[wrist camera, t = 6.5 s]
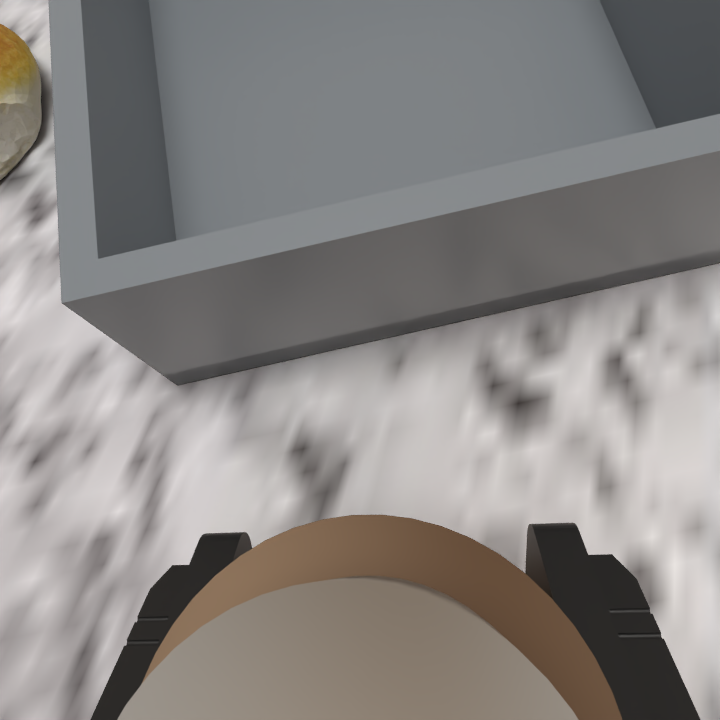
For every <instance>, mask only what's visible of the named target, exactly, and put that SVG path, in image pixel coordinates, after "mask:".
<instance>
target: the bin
mask: <svg viewBox="0 0 720 720" xmlns="http://www.w3.org/2000/svg"><path fill="white" fill-rule="evenodd" d="M49 22H50V45H51V68H52V91H53V115H54V138H55V161H56V184H57V207H58V231H59V254H60V277H61V300H62V304H64V305H65V306H67V307H68V308H69V309H71V310H72V311H74V312H75V313H76V314H78V315H79V316H81V317H82V318H83V319H85V320H86V321H88V322H89V323H90V324H92V325H93V326H95V327H96V328H97V329H99V330H100V331H102V332H103V333H104V334H106V335H107V336H109V337H110V338H112V339H113V340H114V341H116V342H117V343H119V344H120V345H121V346H123V347H124V348H126V349H127V350H128V351H130V352H131V353H133V354H134V355H135V356H137V357H138V358H140V359H141V360H142V361H144V362H145V363H147V364H148V365H149V366H151V367H152V368H154V369H155V370H156V371H158V372H159V373H161V374H162V375H164V376H165V377H166V378H168V379H169V380H171V381H172V382H173V383H175V384H176V385H180V384H185V383H189V382H193V381H198V380H202V379H207V378H211V377H216V376H220V375H224V374H229V373H233V372H238V371H242V370H247V369H251V368H255V367H260V366H264V365H269V364H273V363H278V362H282V361H286V360H291V359H295V358H300V357H304V356H309V355H313V354H318V353H322V352H326V351H331V350H335V349H340V348H344V347H349V346H353V345H357V344H362V343H366V342H371V341H375V340H380V339H384V338H388V337H393V336H397V335H402V334H406V333H411V332H415V331H419V330H424V329H428V328H433V327H437V326H442V325H446V324H450V323H455V322H459V321H464V320H468V319H473V318H477V317H481V316H486V315H490V314H495V313H499V312H504V311H508V310H512V309H517V308H521V307H526V306H530V305H535V304H539V303H544V302H548V301H552V300H557V299H561V298H566V297H570V296H575V295H579V294H583V293H588V292H592V291H597V290H601V289H606V288H610V287H614V286H619V285H623V284H628V283H632V282H637V281H641V280H645V279H650V278H654V277H659V276H663V275H668V274H672V273H676V272H681V271H685V270H690V269H694V268H699V267H703V266H707V265H712V264H716V263H720V0H49Z"/></svg>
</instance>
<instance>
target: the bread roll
mask: <svg viewBox="0 0 720 720" xmlns="http://www.w3.org/2000/svg"><path fill="white" fill-rule="evenodd" d="M41 118H42V115H41V78H40V72H39V67H38V65H37V63H36V61H35V59H34V57H33V55H32V53H31V51H30V49H29V47H28V46H27V45H26V43H25V42H24V41H23V40H22V39H21V38H20V37H19V36H18V35H17V34H16V33H14V32H13V31H11V30H10V29H8V28H7V27H5V26H4V25H2V24H0V180H1V179H2V178H3V177H5V176H6V175H7V174H8V173H9V172H10V171H11V170H12V169H13V168H14V167H15V166H16V165H17V163H18V162H19V161H20V160H21V159H22V157H23V156H24V155H25V153H26V152H27V151H28V150H29V149H30V148H31V147H32V145H33V143H34V142H35V140H36V139H37V136H38V133H39V130H40V126H41Z"/></svg>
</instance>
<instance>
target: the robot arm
mask: <svg viewBox="0 0 720 720" xmlns="http://www.w3.org/2000/svg"><path fill="white" fill-rule="evenodd" d="M251 549H252V546H251V541H250V538H249V535H248V534H247V533H246V532H240V533H209V534H203V535H202V536H201V538H200V540H199V542H198V544H197V547H196V549H195V552H194V554H193V557H192V559H191V562H190V564H189V565H172V566H171V568H170V569H169V570H168V571H167V572H166V573H165V574H164V575H163V576H162V577H161V578H160V579H159V580H158V581H157V582H156V584H155V585H154V586H153V587H152V588H151V589H150V591H149V593H148V595H147V597H146V599H145V602H144V604H143V606H142V608H141V610H140V612H139V615H138V621H137V622H135V623H134V626H133V628H132V630H131V632H130V634H129V637H128V639H127V645H126V646H124V648H123V650H122V652H121V654H120V656H119V659H118V661H117V663H116V665H115V667H114V670H113V672H112V674H111V676H110V678H109V680H108V683H107V685H106V687H105V689H104V691H103V694H102V696H101V698H100V700H99V702H98V705H97V707H96V709H95V711H94V713H93V716H92V718H91V720H117V719H118V717H119V716H120V714H121V712H122V711H123V709H124V707H125V706H126V704H127V703H128V701H129V700H130V699H131V698H132V696H133V695H134V694H135V692H136V691H137V690H138V688H139V687H140V686H141V684H142V682H143V680H144V677H145V675H146V673H147V671H148V669H149V666H150V664H151V662H152V660H153V658H154V655H155V653H156V652H157V650H158V648H159V647H160V645H161V643H162V642H163V640H164V638H165V637H166V635H167V633H168V632H169V630H170V628H171V627H172V625H173V624H174V622H175V621H176V620H177V618H178V617H179V616H180V615H181V613H182V612H183V611H184V609H185V608H186V607H187V605H188V604H189V603H190V602H191V600H192V599H193V598H194V597H195V596H196V595H197V594H198V593H199V592H200V591H201V590H202V589H203V588H204V587H205V586H206V585H207V584H208V583H209V581H210V580H211V579H212V578H213V577H214V576H215V575H217V574H218V573H219V572H220V571H222V570H223V569H224V568H225V567H227V566H228V565H229V564H230V563H232V562H233V561H234V560H235V559H237V558H238V557H239V556H241V555H242V554H244V553H246V552H247V551H249V550H251ZM526 574H527V575H528V576H529V577H530V578H531V579H532V580H533V581H534V582H535V583H536V584H537V585H538V586H539V587H540V588H541V589H542V590H543V591H544V592H545V593H547V594H548V595H549V596H550V597H551V598H552V599H553V601H554V602H555V603H556V604H557V605H558V607H559V608H560V609H561V610H562V611H563V613H564V614H565V615H566V616H567V617H568V619H569V620H570V621H571V622H572V623H573V625H574V626H575V627H576V629H577V631H578V632H579V634H580V635H581V637H582V638H583V640H584V641H585V643H586V644H587V646H588V647H589V649H590V650H591V652H592V654H593V655H594V657H595V658H596V660H597V662H598V664H599V666H600V668H601V670H602V672H603V674H604V676H605V678H606V680H607V682H608V684H609V686H610V688H611V690H612V693H613V695H614V698H615V701H616V703H617V706H618V709H619V712H620V714H621V717H622V720H700V718H699V716H698V713H697V711H696V709H695V707H694V705H693V702H692V700H691V698H690V696H689V694H688V691H687V689H686V687H685V685H684V683H683V680H682V678H681V676H680V674H679V672H678V669H677V667H676V665H675V663H674V660H673V658H672V656H671V654H670V652H669V649H668V647H667V645H666V643H665V641H664V639H662V638H661V632H660V630H659V627H658V625H657V623H656V621H655V619H654V616H653V614H651V613H650V608H649V605H648V603H647V601H646V599H645V597H644V594H643V592H642V590H641V588H640V586H639V583H638V581H637V579H636V578H635V577H634V576H633V575H632V574H631V573H630V572H629V571H628V570H627V569H626V568H625V567H624V566H623V565H622V564H621V563H620V562H619V561H618V560H617V559H616V558H615V557H614V556H613V555H612V554H609V555H588V553H587V551H586V548H585V545H584V543H583V540H582V538H581V535H580V532H579V530H578V528H577V526H576V524H575V523H551V524H529V526H528V531H527V551H526Z"/></svg>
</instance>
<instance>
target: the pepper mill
mask: <svg viewBox="0 0 720 720" xmlns="http://www.w3.org/2000/svg"><path fill="white" fill-rule="evenodd" d="M117 720H622V717H621V714H620V712H619V709H618V706H617V703H616V701H615V698H614V695H613V693H612V690H611V688H610V686H609V684H608V682H607V680H606V678H605V676H604V674H603V672H602V670H601V668H600V666H599V664H598V662H597V660H596V658H595V657H594V655H593V654H592V652H591V650H590V649H589V647H588V646H587V644H586V643H585V641H584V640H583V638H582V637H581V635H580V634H579V632H578V631H577V629H576V627H575V626H574V625H573V623H572V622H571V621H570V620H569V619H568V617H567V616H566V615H565V614H564V613H563V611H562V610H561V609H560V608H559V607H558V605H557V604H556V603H555V602H554V601H553V599H552V598H551V597H550V596H549V595H548V594H547V593H545V592H544V591H543V590H542V589H541V588H540V587H539V586H538V585H537V584H536V583H535V582H534V581H533V580H532V579H531V578H530V577H529V576H528V575H527V574H525V573H524V572H523V571H521V570H520V569H519V568H517V567H516V566H515V565H513V564H512V563H510V562H509V561H508V560H506V559H505V558H504V557H502V556H501V555H500V554H498V553H496V552H495V551H493V550H491V549H489V548H487V547H486V546H484V545H482V544H480V543H479V542H477V541H475V540H473V539H471V538H469V537H467V536H464V535H462V534H459V533H457V532H454V531H452V530H450V529H447V528H445V527H442V526H439V525H435V524H431V523H427V522H423V521H419V520H416V519H412V518H404V517H395V516H387V515H350V516H343V517H336V518H330V519H323V520H319V521H316V522H312V523H309V524H305V525H302V526H299V527H295V528H292V529H290V530H288V531H286V532H283V533H281V534H279V535H277V536H274V537H272V538H270V539H267V540H265V541H264V542H262V543H260V544H259V545H257V546H256V547H254V548H252V549H251V550H249V551H247V552H246V553H244V554H242V555H241V556H239V557H238V558H237V559H235V560H234V561H233V562H232V563H230V564H229V565H228V566H227V567H225V568H224V569H223V570H222V571H220V572H219V573H218V574H217V575H215V576H214V577H213V578H212V579H211V580H210V581H209V583H208V584H207V585H206V586H205V587H204V588H203V589H202V590H201V591H200V592H199V593H198V594H197V595H196V596H195V597H194V598H193V599H192V600H191V602H190V603H189V604H188V605H187V607H186V608H185V609H184V611H183V612H182V613H181V615H180V616H179V617H178V618H177V620H176V621H175V622H174V624H173V625H172V627H171V628H170V630H169V632H168V633H167V635H166V637H165V638H164V640H163V642H162V643H161V645H160V647H159V648H158V650H157V652H156V653H155V655H154V658H153V660H152V662H151V664H150V666H149V669H148V671H147V673H146V675H145V677H144V680H143V682H142V684H141V686H140V687H139V688H138V690H137V691H136V692H135V694H134V695H133V696H132V698H131V699H130V700H129V701H128V703H127V704H126V706H125V707H124V709H123V711H122V712H121V714H120V716H119V717H118V719H117Z"/></svg>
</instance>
